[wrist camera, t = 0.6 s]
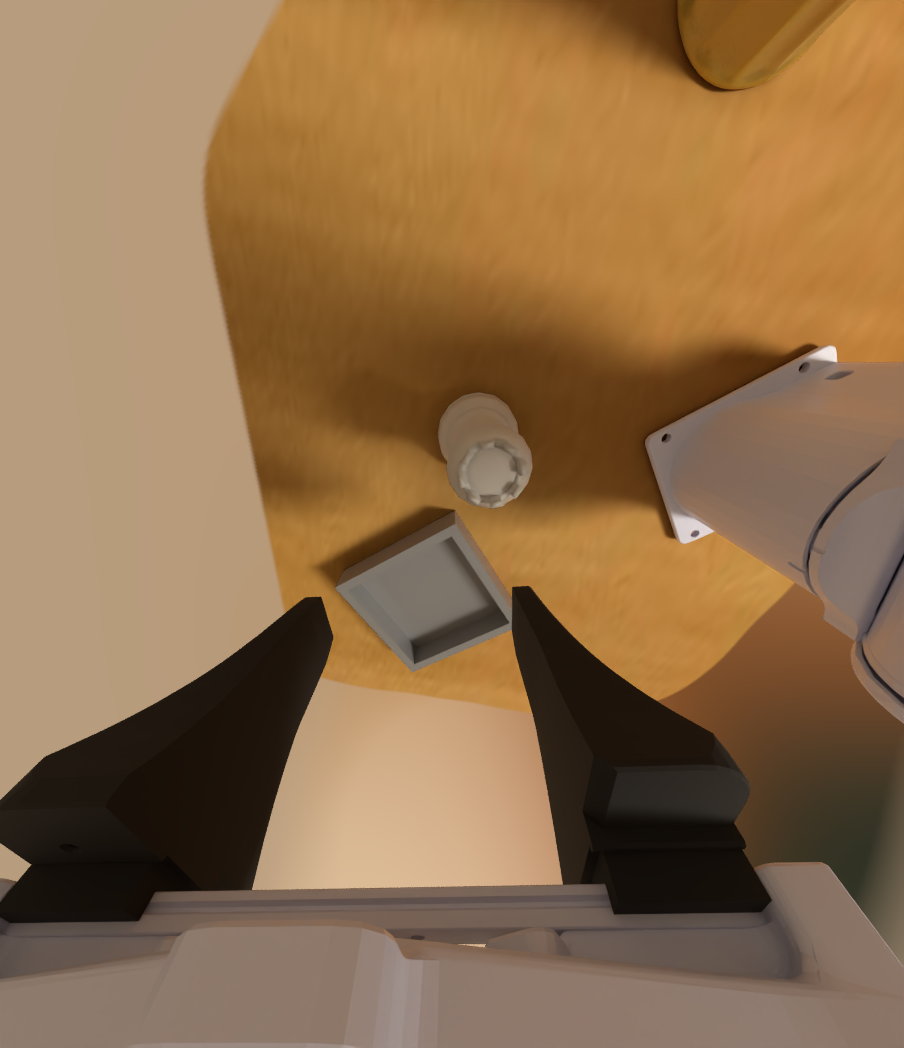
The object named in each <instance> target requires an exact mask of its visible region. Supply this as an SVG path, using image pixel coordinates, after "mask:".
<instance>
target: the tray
mask: <svg viewBox="0 0 904 1048" xmlns="http://www.w3.org/2000/svg"><path fill="white" fill-rule="evenodd" d="M335 589H336V590H337V591H338V592H339V593H340V594H341V595H342V596H343V597H344V599H345V600H346V601H347V602H348V603H349V604H350V605H351V606H352V607H353V608H354V609H355V610H356V612H357V613H358V614H359V615H360V616H361V617H362V618H363V619H364V620H365V621H366V622H367V624H368V625H369V626H370V627H371V628H372V629H373V630H374V631H375V632H376V633H377V634H378V636H379V637H380V638H381V639H382V640H383V641H384V642H385V643H386V644H387V645H388V646H389V647H390V649H391V650H392V651H393V652H394V653H395V654H396V655H397V656H398V657H399V658H400V659H401V661H402V662H403V663H404V664H405V665H406V666H407V667H408V668H409V669H410V670H411V671H412V672H414V671H416V670H418V669H421V668H423V667H425V666H428V665H430V664H433V663H435V662H437V661H440V660H442V659H444V658H447V657H449V656H451V655H454V654H456V653H458V652H461V651H463V650H465V649H468V648H470V647H472V646H475V645H477V644H479V643H482V642H484V641H486V640H489V639H491V638H493V637H496V636H498V635H500V634H503V633H505V632H507V631H510V630H512V598H511V597H510V595H509V594H508V592H507V591H506V589H505V587H504V586H503V584H502V583H501V581H500V580H499V578H498V576H497V575H496V573H495V572H494V570H493V569H492V567H491V566H490V564H489V562H488V561H487V559H486V558H485V556H484V555H483V553H482V551H481V550H480V548H479V547H478V545H477V544H476V542H475V540H474V539H473V537H472V536H471V534H470V533H469V531H468V530H467V528H466V526H465V525H464V523H463V522H462V520H461V519H460V517H459V515H458V514H457V512H456V511H455V510H454V511H453V512H451V513H449V514H447V515H445V516H443V517H442V518H440V519H438V520H436V521H434V522H432V523H430V524H429V525H427V526H425V527H423V528H421V529H419V530H417V531H416V532H414V533H412V534H410V535H408V536H406V537H405V538H403V539H401V540H399V541H397V542H395V543H393V544H392V545H390V546H388V547H386V548H384V549H382V550H380V551H379V552H377V553H375V554H373V555H371V556H369V557H368V558H366V559H364V560H362V561H360V562H358V563H356V564H355V565H353V566H351V567H349V568H347V569H345V570H344V571H343V573H342V575H341V577H340V579H339V581H338V582H337V584H336V586H335Z"/></svg>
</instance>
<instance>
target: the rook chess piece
mask: <svg viewBox="0 0 904 1048" xmlns="http://www.w3.org/2000/svg"><path fill="white" fill-rule="evenodd" d="M438 439H439V444H440V448H441V453H442V455H443V456H444V458H445V459H446V461H447V468H446V469H447V474H448V478H449V483H450V485H451V486H452V488H453V489H454V491H455V492H456V494H457V495H458V496H459V497H460V498H462V499H463V500H465V501H466V502H468V503H470V504H471V505H475V506H480V507H486V508H491V509H492V508H497V507H503V506H504V504H506V503H508V502H509V501H511V500H513V499H514V498H515V499H516V498H517V497H518V496H519V494H520V493H521V492H522V491H523V489H524V488H525V487H526V485H527V484H528V481H529V478H530V475H531V472H532V468H533V466H532V456H531V451H530V449H529V447H528V445H527V444H526V442H525V440H524V438H523V437H522V436H521V435H519V433H518V424H517V421H516V419H515V417H514V415H513V413H512V412H511V410H510V408H509V406H508V405H507V404H506V403H504V402H503V401H502V400H500V399H499V398H498V397H496V396H495V395H490V394H486V393H481V392H477V393H472V394H467V395H463V396H461V397H460V398H459V399H457V400H456V401H454V402H453V403H452V404H450V405H449V406H448V408H447V409H446V411H445V413H444V414H443V416H442V417H441V419H440V424H439V430H438Z"/></svg>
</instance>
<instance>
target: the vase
mask: <svg viewBox="0 0 904 1048" xmlns="http://www.w3.org/2000/svg"><path fill="white" fill-rule="evenodd" d="M854 1H855V0H678V23H679V30H680V35H681V39H682V43H683V46H684V49H685V52H686V55H687V57H688V59H689V61H690V63H691V65H692V66H693V67H694V69H695V70H696V71H697V73H698V74H699V75H700V76H701V77H702V78H703V79H704V80H705V81H707V82H709V83H710V84H712V85H714V86H716V87H720V88H723V89H732V90H733V89H745V88H751V87H755V86H758V85H761V84H763V83H765V82H767V81H769V80H770V79H772V78H774V77H775V76H777V75H778V74H780V73H781V72H782V71H784V70H785V69H786V68H788V67H789V66H790V65H792V64H793V63H794V62H795V61H797V60H798V59H799V58H800V57H801V56H802V55H803V54H804V53H805V52H806V51H807V50H808V48H809V47H810V46H811V45H812V44H813V43H814V42H815V41H816V40H817V38H818V37H819V36H820V35H821V34H822V33H823V32H824V31H825V30H826V29H827V28H828V27H829V26H830V25H831V24H832V23H833V22H834V21H835V20H836V19H837V18H838V17H839V16H840V15H841V14H842V13H843V12H844V11H845V10H846V9H847V8H848V7H849V6H850V5H851V4H852V3H853V2H854Z"/></svg>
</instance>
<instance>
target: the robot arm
mask: <svg viewBox="0 0 904 1048" xmlns="http://www.w3.org/2000/svg"><path fill="white" fill-rule="evenodd" d="M801 364H803V366H802V369H801V370H800V371H799V367H800V366H801ZM665 434H667V438H666V439H665V440H664V441H662V437H663V435H665ZM645 447H646V450H647V453H648V456H649V459H650V462H651V465H652V468H653V471H654V474H655V477H656V480H657V483H658V486H659V489H660V492H661V495H662V498H663V501H664V504H665V507H666V510H667V513H668V516H669V519H670V522H671V525H672V528H673V531H674V534H675V537H676V539H677V540H678V541H679V542H680V543H682V544H686V543H689V542H691V541H694V540H696V539H698V538H701V537H703V536H705V535H708V534H710V533H712V532H714V531H715V532H716V533H718V534H720V535H721V536H723V537H724V538H726V539H727V540H729V541H731V542H732V543H734V544H735V545H737V546H738V547H740V548H742V549H743V550H745V551H746V552H748V553H749V554H751V555H753V556H754V557H756V558H757V559H759V560H760V561H762V562H764V563H765V564H767V565H768V566H770V567H771V568H773V569H775V570H776V571H778V572H779V573H781V574H782V575H784V576H786V577H787V578H789V579H790V580H792V581H794V582H795V583H797V584H798V585H800V586H801V587H803V588H805V589H806V590H808V591H809V592H811V593H812V594H814V595H816V596H817V597H819V598H820V599H822V601H823V602H824V604H825V613H824V617H823V619H824V620H825V621H827V622H828V623H830V624H831V625H832V626H834V627H835V628H837V629H838V630H840V631H841V632H843V633H844V634H845V635H847V636H848V637H850V638H851V639H853V640H854V641H855V642H854V644H853V647H852V650H851V664H852V666H853V669H854V672H855V674H856V676H857V677H858V678H859V680H860V682H861V683H862V685H863V686H864V687H865V688H866V690H867V691H868V692H869V693H870V694H871V695H872V696H873V697H874V699H876V701H878V702H879V703H880V704H881V705H882V706H883V707H884V708H885V709H886V710H888V711H889V712H890V713H891V714H892V715H893V716H895V717H896V718H897V719H899V720H900V721H901V722H903V723H904V362H837V352H836V348H835V347H834V346H831V345H826V346H820V347H818V348H816V349H814V350H812V351H810V352H808V353H806V354H804V355H802V356H800V357H798V358H797V359H795V360H793V361H791V362H789V363H787V364H785V365H783V366H781V367H779V368H777V369H775V370H773V371H772V372H770V373H768V374H766V375H764V376H762V377H760V378H758V379H756V380H754V381H752V382H750V383H748V384H747V385H745V386H743V387H741V388H739V389H737V390H735V391H733V392H731V393H729V394H727V395H725V396H723V397H722V398H720V399H718V400H716V401H714V402H712V403H710V404H708V405H706V406H704V407H702V408H700V409H698V410H697V411H695V412H693V413H691V414H689V415H687V416H685V417H683V418H681V419H679V420H677V421H675V422H673V423H672V424H670V425H668V426H666V427H664V428H662V429H660V430H658V431H656V432H654V433H652V434H651V435H649V436H648V437H647V439H646V441H645ZM693 531H695V532H694V533H693V534H691V533H692V532H693ZM512 634H513V640H514V646H515V652H516V657H517V660H518V664H519V668H520V671H521V675H522V678H523V682H524V685H525V689H526V692H527V696H528V699H529V703H530V706H531V710H532V713H533V717H534V722H535V726H536V730H537V736H538V741H539V746H540V752H541V756H542V762H543V768H544V773H545V779H546V785H547V790H548V796H549V802H550V808H551V814H552V819H553V825H554V831H555V837H556V844H557V850H558V856H559V862H560V868H561V874H562V881H563V885H525V886H524V885H520V886H468V887H467V886H464V887H412V888H411V887H410V888H409V887H408V888H351V889H300V890H299V889H296V890H252V887H253V883H254V879H255V875H256V870H257V866H258V862H259V858H260V854H261V850H262V846H263V842H264V838H265V834H266V831H267V827H268V823H269V820H270V816H271V813H272V808H273V805H274V802H275V798H276V795H277V792H278V788H279V785H280V781H281V778H282V775H283V772H284V768H285V765H286V762H287V759H288V756H289V753H290V750H291V747H292V744H293V741H294V738H295V735H296V733H297V730H298V727H299V725H300V722H301V720H302V717H303V715H304V713H305V711H306V709H307V706H308V704H309V702H310V699H311V697H312V695H313V692H314V690H315V688H316V686H317V683H318V681H319V679H320V676H321V674H322V672H323V669H324V667H325V665H326V662H327V659H328V655H329V652H330V648H331V645H332V641H333V634H332V631H331V627H330V624H329V621H328V618H327V614H326V611H325V608H324V604H323V601H322V598H321V597H306V598H304V599H303V600H301V601H300V602H299V603H297V604H296V605H295V606H294V607H292V608H291V609H290V610H289V611H287V612H286V613H285V614H284V615H283V616H282V617H280V618H279V619H278V620H276V622H274V623H273V624H272V625H270V626H269V627H268V628H267V629H265V630H264V631H263V632H262V633H261V634H259V635H258V636H257V637H255V638H254V639H253V640H251V641H250V642H249V643H247V644H246V645H245V646H244V647H242V648H241V649H239V650H238V651H237V652H235V653H234V654H233V655H231V656H230V657H229V658H227V659H226V660H224V661H223V662H222V663H220V664H219V665H217V666H216V667H214V668H213V669H211V670H210V671H208V672H207V673H205V674H204V675H202V676H201V677H199V678H197V679H196V680H194V681H193V682H191V683H189V684H188V685H186V686H184V687H183V688H181V689H179V690H177V691H176V692H174V693H172V694H171V695H169V696H167V697H166V698H164V699H162V700H160V701H159V702H157V703H155V704H153V705H151V706H150V707H148V708H146V709H144V710H142V711H140V712H138V713H136V714H135V715H133V716H131V717H129V718H127V719H125V720H123V721H121V722H119V723H117V724H115V725H113V726H111V727H109V728H107V729H105V730H103V731H100V732H98V733H96V734H94V735H92V736H90V737H88V738H85V739H83V740H81V741H79V742H77V743H75V744H72V745H70V746H68V747H66V748H63V749H61V750H59V751H57V752H55V753H52V754H50V755H48V756H46V757H44V758H43V759H42V760H41V761H40V762H39V763H38V764H37V765H36V766H35V767H34V768H33V769H32V770H31V771H30V772H29V773H28V774H27V775H26V776H24V777H23V779H21V781H19V782H18V783H17V784H16V785H15V786H14V787H13V788H12V789H11V790H10V791H9V792H8V793H7V794H6V795H5V796H4V797H3V798H2V799H1V800H0V843H1V844H2V845H4V846H6V847H7V848H8V849H10V850H11V851H13V852H14V853H15V854H17V855H18V856H20V857H21V858H23V859H24V860H25V861H27V862H28V863H30V864H32V865H31V866H30V867H29V868H28V870H27V871H26V872H25V873H24V874H23V876H22V877H21V878H20V879H19V880H18V881H17V882H16V881H12V880H8V879H1V878H0V1048H904V967H903V966H902V964H901V963H900V961H899V960H898V959H897V957H896V956H895V955H894V953H893V952H892V951H891V949H890V948H889V947H888V945H887V944H886V943H885V941H884V940H883V939H882V937H881V936H880V935H879V933H878V932H877V931H876V929H875V928H874V926H873V925H872V924H871V922H870V921H869V920H868V918H867V917H866V916H865V914H864V913H863V912H862V910H861V909H860V908H859V907H858V905H857V904H856V902H855V901H854V900H853V898H852V897H851V896H850V894H849V893H848V892H847V890H846V889H845V888H844V886H843V885H842V884H841V882H840V881H839V880H838V878H837V877H836V876H835V874H834V873H833V872H832V870H831V869H830V868H829V866H828V865H825V864H824V863H822V862H800V863H798V862H797V863H769V864H764V865H760V866H757V867H756V868H754V869H753V867H752V866H751V864H750V862H749V861H748V859H747V857H746V855H745V854H744V852H743V850H742V849H745V847H746V844H745V841H744V839H743V837H742V836H741V834H740V832H739V831H738V829H737V827H736V826H735V824H734V822H735V820H736V818H737V817H738V815H739V814H740V812H741V810H742V809H743V807H744V805H745V804H746V802H747V799H748V796H749V794H750V786H749V781H748V780H747V778H746V777H745V775H744V774H743V773H742V771H741V770H740V768H739V767H738V766H737V764H736V763H735V761H734V760H733V758H732V757H731V756H730V754H729V753H728V752H727V750H726V749H725V748H724V747H723V745H722V744H721V743H720V742H719V741H718V739H717V738H716V737H715V736H714V734H713V733H711V732H710V731H708V730H706V729H704V728H702V727H701V726H699V725H697V724H695V723H693V722H692V721H690V720H688V719H686V718H684V717H683V716H681V715H679V714H677V713H675V712H674V711H672V710H670V709H668V708H667V707H665V706H664V705H662V704H661V703H659V702H657V701H656V700H654V699H653V698H651V697H649V696H648V695H646V694H645V693H643V692H642V691H640V690H639V689H637V688H636V687H634V686H633V685H632V684H630V683H629V682H627V681H626V680H625V679H623V678H622V677H620V676H619V675H618V674H616V673H615V672H613V671H612V670H611V669H610V668H608V667H607V666H606V665H605V664H603V663H602V662H601V661H600V660H599V659H597V658H596V657H595V656H594V655H593V654H591V653H590V652H589V651H588V650H587V649H586V648H585V647H584V646H583V645H582V644H581V643H579V642H578V641H577V640H576V639H575V638H574V637H573V636H572V635H571V634H570V633H569V632H568V631H567V630H566V629H565V628H564V626H563V625H562V624H561V623H560V622H559V621H558V620H557V619H556V618H555V617H554V616H553V614H552V613H551V612H550V611H549V610H548V609H547V607H546V606H545V605H544V604H543V603H542V601H541V600H540V599H539V597H538V596H537V595H536V594H535V592H534V591H533V590H532V588H531V587H529V586H521V587H512ZM458 944H486V945H485V947H476V946H467V945H458Z"/></svg>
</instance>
